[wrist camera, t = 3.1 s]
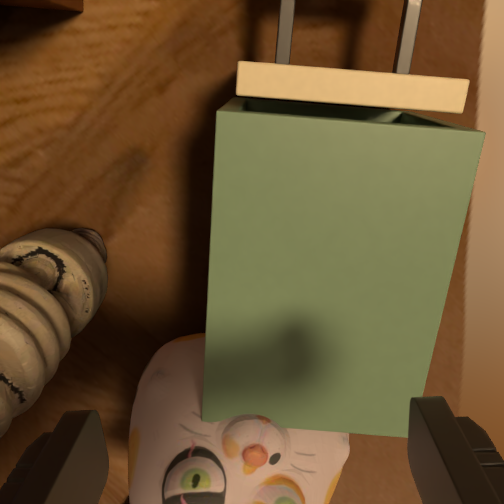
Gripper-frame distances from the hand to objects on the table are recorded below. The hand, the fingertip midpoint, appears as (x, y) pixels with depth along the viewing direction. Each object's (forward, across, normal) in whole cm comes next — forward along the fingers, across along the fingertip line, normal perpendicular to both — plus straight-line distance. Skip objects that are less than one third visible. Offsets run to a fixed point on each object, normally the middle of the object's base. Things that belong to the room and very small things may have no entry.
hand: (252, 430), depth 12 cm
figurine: (+17, +3, +13) cm, 21 cm away
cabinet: (+17, -3, 0) cm, 17 cm away
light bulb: (+17, +10, 0) cm, 20 cm away
